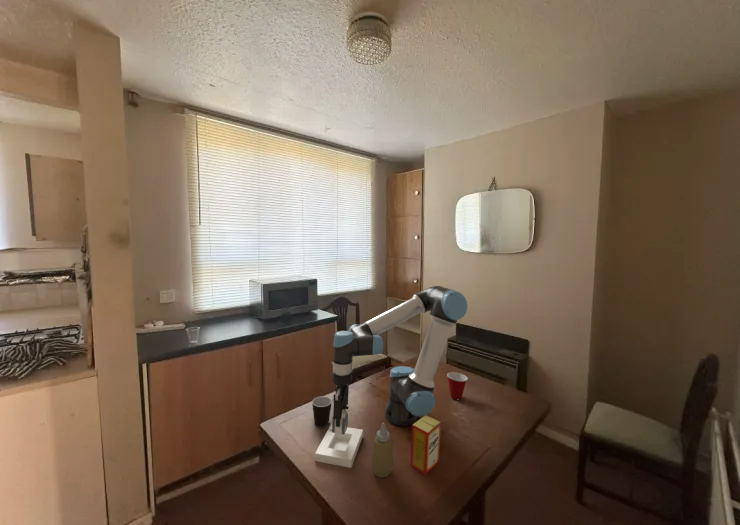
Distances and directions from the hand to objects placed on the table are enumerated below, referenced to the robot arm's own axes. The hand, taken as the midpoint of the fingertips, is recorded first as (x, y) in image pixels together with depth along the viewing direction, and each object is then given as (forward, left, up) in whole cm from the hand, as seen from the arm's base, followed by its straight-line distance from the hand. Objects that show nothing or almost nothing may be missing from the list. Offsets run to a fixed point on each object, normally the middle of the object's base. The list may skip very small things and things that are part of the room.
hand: (340, 429), depth 119 cm
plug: (0, 0, 0) cm, 0 cm away
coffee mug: (+13, -15, -8) cm, 21 cm away
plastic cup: (-48, -53, -8) cm, 72 cm away
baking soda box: (-33, 0, -8) cm, 34 cm away
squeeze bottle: (-18, +8, -8) cm, 21 cm away
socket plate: (0, 0, -8) cm, 8 cm away
